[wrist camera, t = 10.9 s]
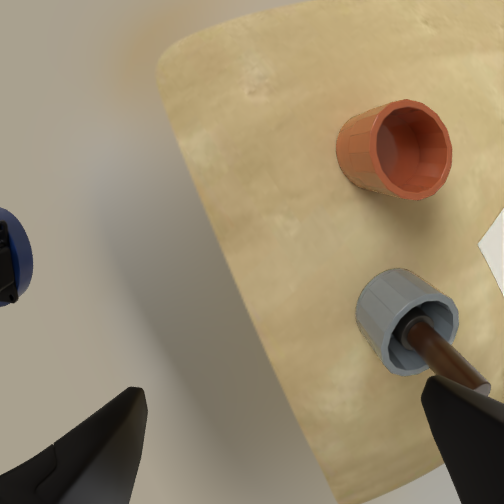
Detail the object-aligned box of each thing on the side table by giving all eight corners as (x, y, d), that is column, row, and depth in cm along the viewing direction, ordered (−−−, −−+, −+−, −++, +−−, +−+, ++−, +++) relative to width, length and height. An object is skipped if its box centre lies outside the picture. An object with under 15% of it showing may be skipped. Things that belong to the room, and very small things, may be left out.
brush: (374, 324, 22) (450, 422, 12) (381, 292, 22) (470, 381, 11) (404, 322, 22) (485, 410, 12) (410, 291, 22) (503, 371, 11)
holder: (333, 186, 20) (366, 195, 15) (336, 108, 19) (370, 91, 13) (402, 193, 20) (448, 204, 15) (406, 120, 19) (452, 111, 14)
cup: (349, 342, 23) (372, 381, 18) (361, 267, 22) (392, 295, 17) (414, 337, 23) (444, 369, 19) (430, 268, 22) (468, 291, 17)
